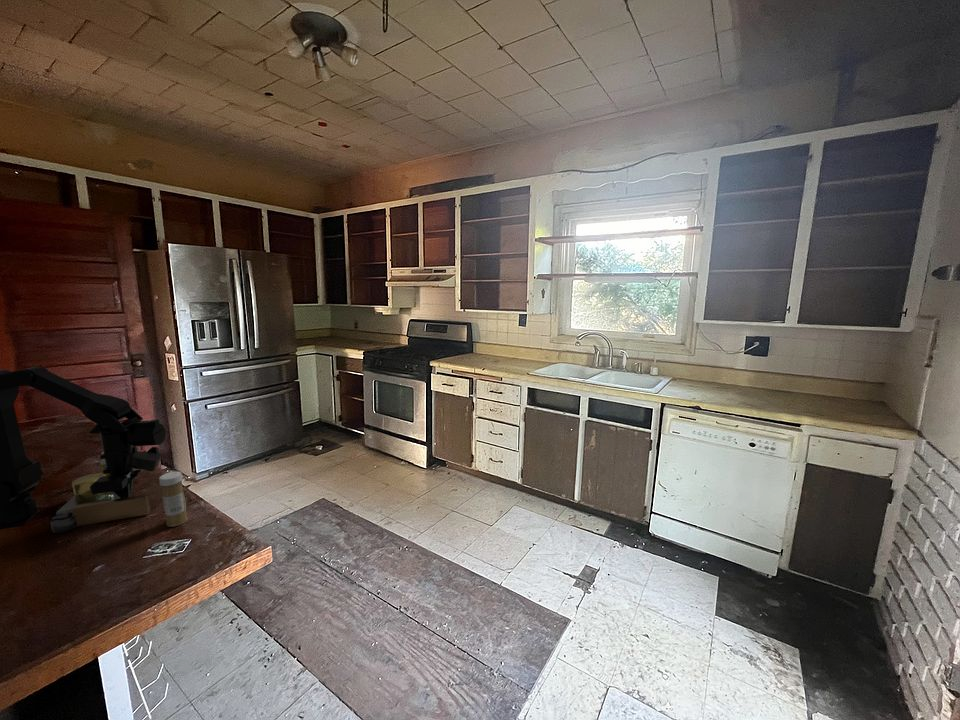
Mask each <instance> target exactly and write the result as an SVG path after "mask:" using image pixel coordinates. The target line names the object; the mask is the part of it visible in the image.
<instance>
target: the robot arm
mask: <svg viewBox="0 0 960 720" xmlns="http://www.w3.org/2000/svg"><path fill="white" fill-rule="evenodd" d="M22 386H28V387H31V388H32V389H35V390H37V391H39V392H41V393H44V394H46V395H48V396H51V397H52V398H55V399H57V400H59V401H61V402H63V403H65V404H67V405H69V406H73V407H74V408H76V409H78V410H79V411H81V413H82V414H83V416H84V417H85V418H86V419H88V420H90V421H91V422H93V424H95V425H94V427H93V428H92V429H91V430H90V431H89V432H88V433H89V434H91V435H95V434H99V436H100V441H101V447H102V453H103V454H102V453H101V454H100V456H99V457H100V460H102V459H105V464H106V468H105V469H104V470H103V474H107V473H110V474H111V475H110V476H103V477H100V478H99V479H98V480H97V481H95V482H94V483H93V484H92V485H91V486H90V490H91V494H99V493H106V492H112V491H113V492H114V493H115V494H116V495H118V496H119V497H120V498H127V497H132V496H131V494H132V492H133V491H132V490H133V488H132V486H133V484H134V481H135V478H136V477H137V476H138V475H139V474H140V473H141V471H142V470H143V471H147V472H154V471H155V470H156V469H157V467H159V464H160V462H161V458H162V457H163V455H162V452H161V451H160V448H159V447H158V446H161V445H162V444H163V443H164V442H165V439H166V436H167V429H166V428H165V427H164V425H163V424H162V423H160V420H159V419H150V420H144V418H143V417H142V416H141V415H140V414H139V413H138V412H136V410H134V409H133V408H132V407H131V405H130V403H129V402H128V401H127V400H125V399H123V398H120V397H116V396H113V395H110V394H109V395H108V394H101V393H97V392H95V391H92V390H89V389H87V388H85V387H83V386H81V385H79V384H76V383H74V382H72V381H70V380H68V379H66V378H64V377H61V376H59V375H57V374H55V373H53V372H51V371H49V369H47V368H45V367H43V366H39V365H38V366H32V367H27V368H24V369H19V370H12V371H11V370H8V369H0V529H2V528H3V529H4V528H8V527H15V526H20V525H24V524H26V523H27V522H29V521H30V520H31V519H33V518H34V517H35V516H36V515H38V513H40V509H37V503H36V500H35V499H34V498H33V497H32V492H35V491H36V489H37V486H38V484H39V483H40V481H41V480H42V476H43V475H44V472H43V471H42V469H41V466H42V465H41V462H40V460H37V461H32V460H31V459H29V458H28V457H27V456H26V452H25V446H24V443H23V438H22V435H21V434H22V433H21V430H20V426H19V421H18V418H17V413H16V409H15V402H16V400H17V399H18V396H19V394H20V387H22ZM124 419H126V420H124ZM122 420H123V421H122ZM148 446H152V447H150V448H149V449H148V450H143V451H140V450H138V447H148Z"/></svg>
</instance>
